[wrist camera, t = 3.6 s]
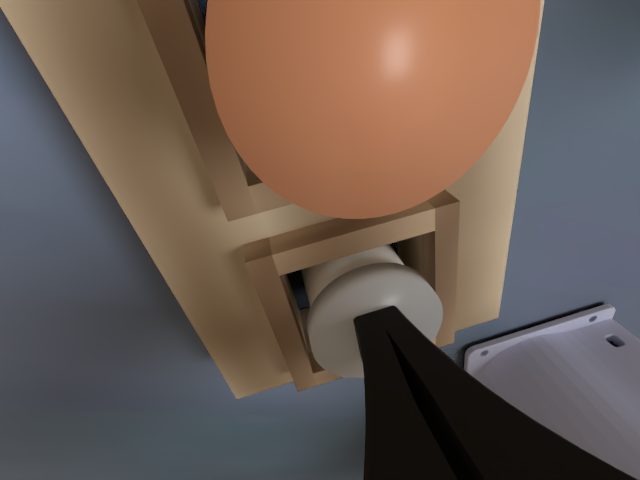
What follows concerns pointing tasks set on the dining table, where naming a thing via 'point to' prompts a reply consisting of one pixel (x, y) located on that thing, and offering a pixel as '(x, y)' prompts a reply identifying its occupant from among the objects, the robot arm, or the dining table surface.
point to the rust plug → (366, 93)
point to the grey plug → (363, 303)
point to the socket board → (247, 189)
